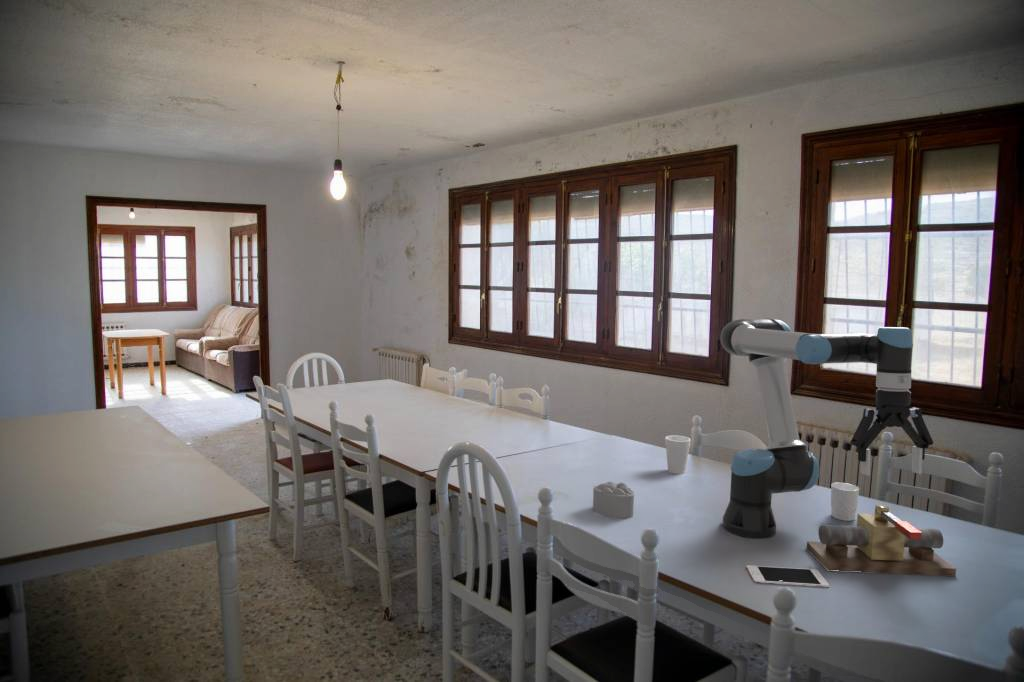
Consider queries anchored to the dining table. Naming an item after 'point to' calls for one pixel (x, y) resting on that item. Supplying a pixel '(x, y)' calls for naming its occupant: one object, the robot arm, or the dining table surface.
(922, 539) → the pipe rig
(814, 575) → the cell phone
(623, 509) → the lumpy-topped squat cylinder
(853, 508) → the white cup
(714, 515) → the dining table surface
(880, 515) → the valve lever
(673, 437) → the foam cup
